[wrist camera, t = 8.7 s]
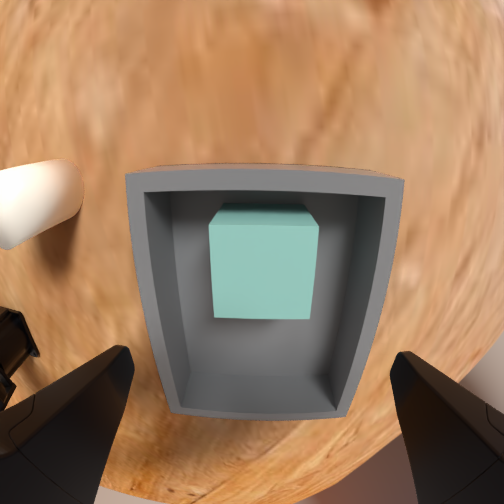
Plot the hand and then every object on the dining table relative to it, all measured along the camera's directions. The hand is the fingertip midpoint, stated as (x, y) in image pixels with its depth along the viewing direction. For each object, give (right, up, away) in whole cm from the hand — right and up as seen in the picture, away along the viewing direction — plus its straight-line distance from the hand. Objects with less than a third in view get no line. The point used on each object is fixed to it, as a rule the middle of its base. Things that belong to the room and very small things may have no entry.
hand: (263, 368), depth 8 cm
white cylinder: (-15, +8, +10) cm, 20 cm away
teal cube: (0, +4, +10) cm, 11 cm away
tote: (0, +1, +13) cm, 13 cm away
